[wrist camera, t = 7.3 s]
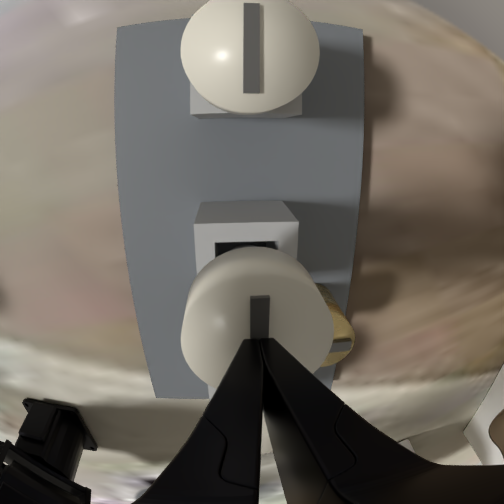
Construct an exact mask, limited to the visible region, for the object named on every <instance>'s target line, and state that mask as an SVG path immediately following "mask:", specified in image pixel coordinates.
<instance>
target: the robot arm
mask: <svg viewBox="0 0 504 504" xmlns="http://www.w3.org/2000/svg"><path fill="white" fill-rule="evenodd" d="M22 403H23V405H24V407H25V409H26V410H27V412H28V414H27V416H26V418H25V420H24V422H23V424H22V426H21V428H20V430H19V437H18V439H17V441H16V443H15V446H14V445H13V444H11V443H12V442H10V441H9V440H7V439H6V441H5V443H4V442H2V441H0V504H90V502H91V489H89V488H87V487H83V486H81V485H79V484H77V483H75V482H74V478H75V475H76V471H77V468H78V465H79V461H80V458H81V455H82V452H83V449H86V450H92V451H97V448H98V446H97V444H96V443H95V441H94V439H93V437H92V436H91V434H90V432H89V430H88V429H87V427H86V425H85V423H84V421H83V419H82V417H81V416H80V414H79V412H78V410H76V409H75V408H72V407H66V406H60V405H54V404H49V403H44V402H39V401H34V400H30V399H24V400H23V402H22ZM344 404H345V403H344V402H343V401H342V400H341V399H340V398H339V397H338V396H336V395H335V394H334V393H333V392H332V391H331V390H330V389H329V388H327V387H326V386H325V385H324V384H323V383H322V382H321V381H320V380H319V379H318V378H316V377H315V376H314V375H313V374H312V373H311V372H310V371H309V370H308V369H307V368H305V367H304V366H303V365H302V364H301V363H300V362H299V361H298V360H297V359H296V358H295V357H294V356H293V355H291V354H290V353H289V352H288V351H287V350H286V349H285V348H284V347H283V346H282V345H281V344H280V343H279V342H278V341H277V340H275V339H274V338H260V339H259V340H258V339H256V338H254V339H244V340H243V341H242V343H241V344H240V346H239V348H238V350H237V352H236V354H235V356H234V358H233V360H232V361H231V363H230V365H229V367H228V369H227V371H226V373H225V374H224V376H223V378H222V380H221V382H220V384H219V386H218V387H217V389H216V391H215V393H214V395H213V397H212V398H211V400H210V402H209V404H208V406H207V408H206V409H205V411H204V413H203V416H202V417H201V418H200V420H199V422H198V424H197V425H196V427H195V429H194V430H193V432H192V434H191V435H190V437H189V438H188V440H187V441H186V443H185V444H184V445H183V447H182V448H181V449H180V451H179V452H178V453H177V455H176V456H175V457H174V459H173V460H172V461H171V462H170V463H169V465H168V466H167V467H166V468H165V469H164V471H163V472H162V473H161V474H160V475H159V477H158V478H157V479H156V480H155V481H154V483H153V484H152V485H151V486H150V487H149V488H148V490H147V491H146V492H145V493H144V494H143V495H142V496H141V497H140V498H138V499H137V500H136V501H134V502H133V503H131V504H259V485H260V464H261V442H262V419H263V414H264V418H265V422H266V426H267V430H268V434H269V438H270V442H271V446H272V449H273V453H274V457H275V461H276V464H277V468H278V472H279V476H280V479H281V483H282V487H283V490H284V494H285V498H286V501H287V504H504V464H503V465H472V466H464V465H441V464H437V463H433V462H430V461H428V460H426V459H424V458H422V457H420V456H418V455H417V454H415V453H414V452H412V451H410V450H409V449H407V448H406V447H404V446H402V445H401V444H399V443H398V442H396V441H395V440H393V439H391V438H390V437H388V436H387V435H385V434H384V433H382V432H381V431H379V430H378V429H377V428H375V427H374V426H372V425H371V424H370V423H368V422H367V421H366V420H365V419H363V418H362V417H361V416H360V415H358V414H357V413H356V412H355V411H354V410H352V409H351V408H350V407H349V406H348V405H347V404H345V405H344ZM3 462H6V463H7V464H9V465H5V464H4V463H3Z"/></svg>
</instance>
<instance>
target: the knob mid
mask: <svg viewBox="0 0 504 504" xmlns="http://www.w3.org/2000/svg"><path fill="white" fill-rule="evenodd" d="M333 336H334V324H333V319H332V315H331V313H330V310H329V308H328V306H327V304H326V303H325V301H324V299H323V297H322V295H321V294H320V292H319V290H318V288H317V286H316V285H315V283H314V281H313V279H312V277H311V276H310V274H309V273H308V271H307V270H306V269H305V268H304V266H303V265H302V264H301V263H300V262H298V261H297V260H296V259H295V258H293V257H291V256H290V255H288V254H286V253H284V252H282V251H279V250H275V249H272V248H266V247H256V246H254V245H248V244H245V245H240V246H237V247H235V248H233V249H232V250H230V251H228V252H226V253H224V254H222V255H220V256H218V257H216V258H215V259H213V260H212V261H210V262H209V263H208V264H207V265H205V266H204V267H203V268H202V270H201V271H200V272H199V273H198V274H197V276H196V277H195V279H194V281H193V283H192V285H191V287H190V290H189V294H188V298H187V304H186V309H185V314H184V320H183V325H182V331H181V348H182V352H183V355H184V358H185V360H186V362H187V364H188V365H189V367H190V369H191V370H192V371H193V372H194V373H195V374H196V375H197V376H198V377H199V378H200V379H201V380H202V381H204V382H205V383H207V384H208V385H210V386H212V387H213V388H215V389H217V387H218V386H219V384H220V382H221V380H222V378H223V376H224V374H225V373H226V371H227V369H228V367H229V365H230V363H231V361H232V360H233V358H234V356H235V354H236V352H237V350H238V348H239V346H240V344H241V343H242V341H243V340H244V339H254V338H256V339H258V340H259V339H260V338H274V339H275V340H277V341H278V342H279V343H280V344H281V345H282V346H283V347H284V348H285V349H286V350H287V351H288V352H289V353H290V354H291V355H293V356H294V357H295V358H296V359H297V360H298V361H299V362H300V363H301V364H302V365H303V366H304V367H305V368H307V369H308V370H309V371H310V372H311V373H312V374H313V373H314V372H315V371H316V370H317V369H318V368H319V367H320V366H321V364H322V363H323V362H324V360H325V359H326V357H327V355H328V353H329V351H330V349H331V346H332V342H333Z"/></svg>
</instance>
